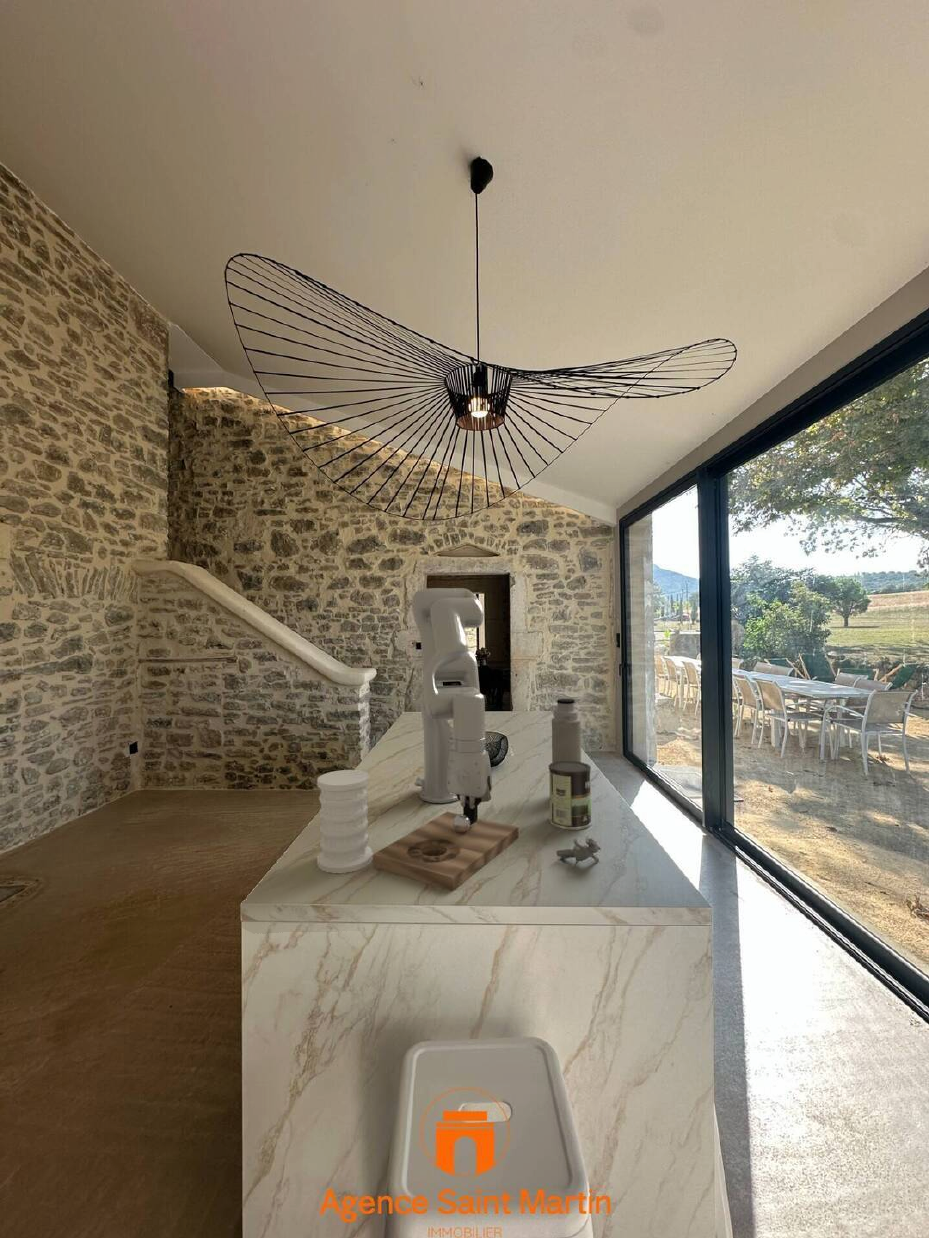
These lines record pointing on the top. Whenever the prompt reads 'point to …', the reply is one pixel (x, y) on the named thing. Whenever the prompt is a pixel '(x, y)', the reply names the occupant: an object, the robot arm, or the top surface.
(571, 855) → the grey toy figure
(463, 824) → the ball
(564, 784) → the coffee can
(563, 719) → the thermos bottle
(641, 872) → the top surface
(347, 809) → the decorative container
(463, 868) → the deck
